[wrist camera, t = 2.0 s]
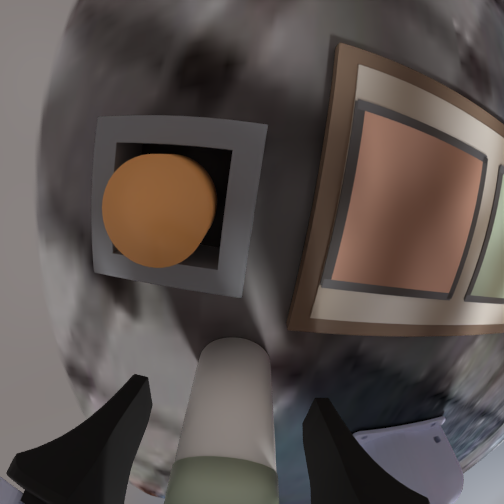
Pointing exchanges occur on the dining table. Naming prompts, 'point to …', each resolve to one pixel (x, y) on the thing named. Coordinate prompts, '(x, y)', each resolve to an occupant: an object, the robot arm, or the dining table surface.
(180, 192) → the button
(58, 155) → the dining table surface
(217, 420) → the white and green cylinder
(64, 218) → the dining table surface
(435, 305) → the picture board
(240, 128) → the button housing
